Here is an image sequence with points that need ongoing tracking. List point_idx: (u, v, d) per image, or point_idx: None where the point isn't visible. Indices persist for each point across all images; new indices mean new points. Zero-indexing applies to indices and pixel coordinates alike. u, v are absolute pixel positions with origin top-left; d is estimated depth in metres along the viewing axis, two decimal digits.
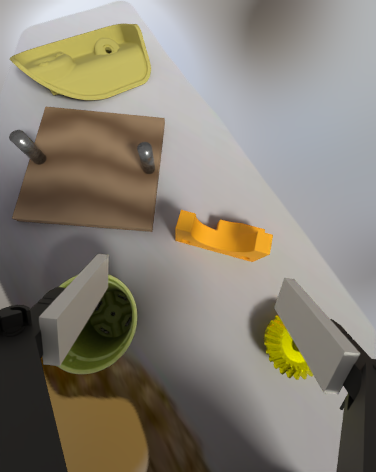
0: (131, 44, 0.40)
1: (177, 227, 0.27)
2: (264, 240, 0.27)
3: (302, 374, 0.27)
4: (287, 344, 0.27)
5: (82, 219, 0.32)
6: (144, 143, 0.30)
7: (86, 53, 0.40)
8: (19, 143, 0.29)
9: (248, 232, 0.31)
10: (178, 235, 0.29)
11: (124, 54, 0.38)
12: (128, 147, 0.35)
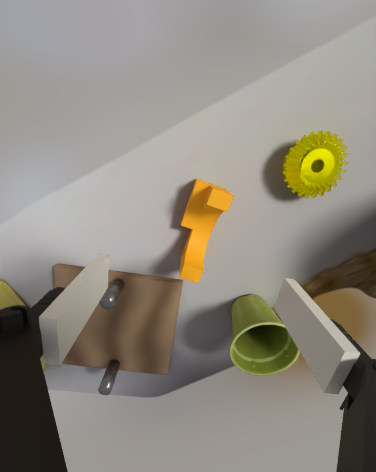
0: None
1: (197, 281, 0.28)
2: (218, 199, 0.25)
3: None
4: (314, 177, 0.27)
5: (170, 333, 0.37)
6: (101, 303, 0.29)
7: None
8: (110, 388, 0.35)
9: (199, 200, 0.28)
10: None
11: None
12: None
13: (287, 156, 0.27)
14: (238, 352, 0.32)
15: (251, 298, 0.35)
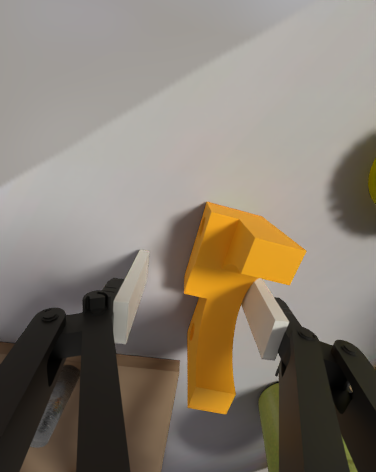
0: None
1: (224, 412, 0.14)
2: (268, 260, 0.10)
3: None
4: None
5: (160, 439, 0.23)
6: None
7: None
8: None
9: (217, 249, 0.14)
10: None
11: None
12: None
13: None
14: None
15: None
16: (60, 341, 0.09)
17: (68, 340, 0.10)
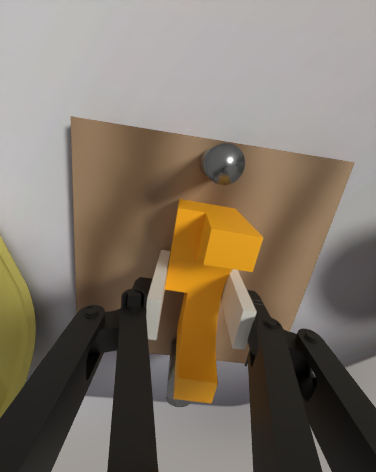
0: None
1: (209, 401, 0.14)
2: (227, 249, 0.11)
3: None
4: None
5: (300, 282, 0.19)
6: (210, 164, 0.11)
7: None
8: None
9: (189, 244, 0.14)
10: None
11: None
12: (159, 206, 0.17)
13: None
14: None
15: None
16: (101, 336, 0.10)
17: (108, 335, 0.10)
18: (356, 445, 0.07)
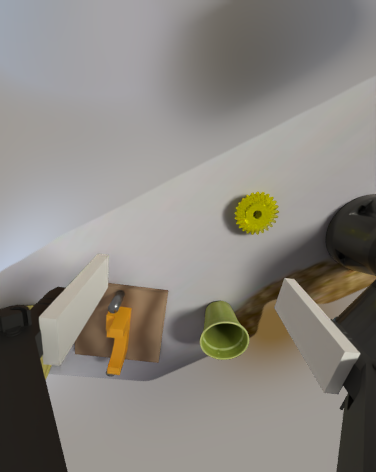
0: None
1: (118, 374, 0.45)
2: (114, 332, 0.42)
3: (275, 213, 0.39)
4: (256, 221, 0.39)
5: (159, 330, 0.50)
6: (109, 309, 0.42)
7: None
8: None
9: (111, 324, 0.45)
10: (123, 361, 0.48)
11: None
12: (103, 306, 0.47)
13: (236, 208, 0.39)
14: (207, 343, 0.44)
15: (219, 304, 0.47)
16: None
17: None
18: None
